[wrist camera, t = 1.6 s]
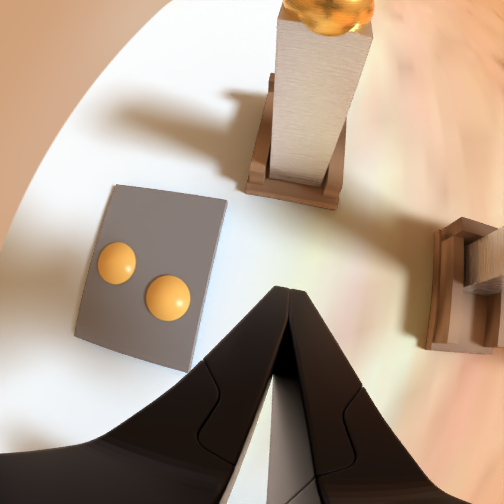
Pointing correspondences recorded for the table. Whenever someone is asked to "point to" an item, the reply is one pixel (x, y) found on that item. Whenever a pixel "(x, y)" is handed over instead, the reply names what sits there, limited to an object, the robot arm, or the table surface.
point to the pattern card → (151, 274)
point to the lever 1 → (315, 82)
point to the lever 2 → (485, 265)
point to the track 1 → (284, 189)
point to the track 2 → (461, 297)
